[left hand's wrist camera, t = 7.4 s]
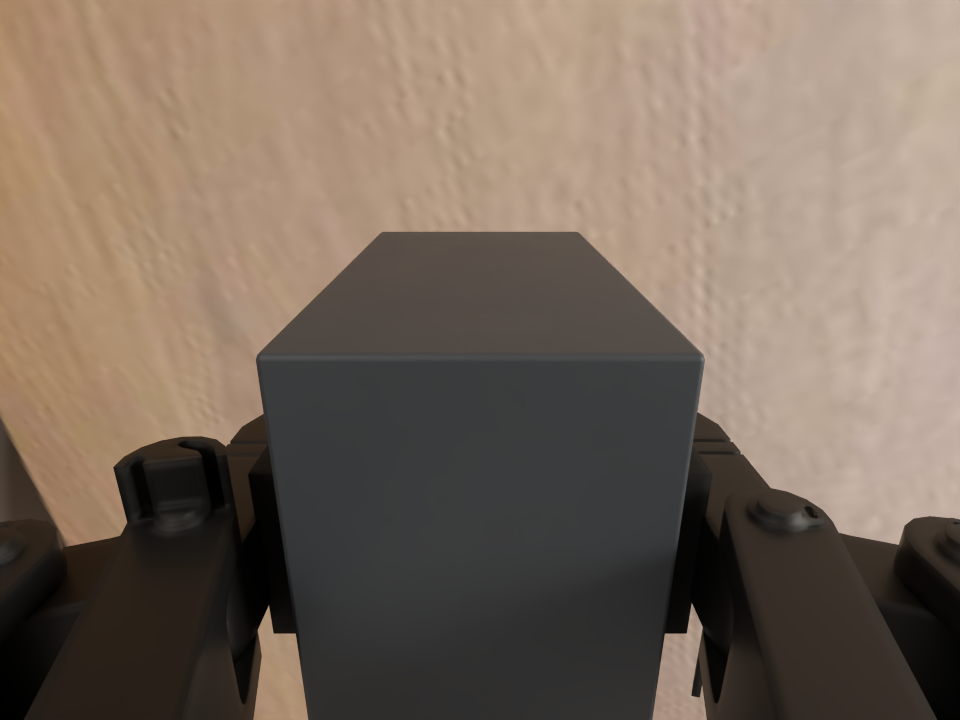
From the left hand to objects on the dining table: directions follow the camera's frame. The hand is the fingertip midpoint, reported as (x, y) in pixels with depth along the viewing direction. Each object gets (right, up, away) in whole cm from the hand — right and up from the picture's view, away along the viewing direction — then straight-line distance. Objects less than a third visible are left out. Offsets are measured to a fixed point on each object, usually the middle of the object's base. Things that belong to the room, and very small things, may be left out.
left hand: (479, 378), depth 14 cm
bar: (0, -9, +4) cm, 10 cm away
